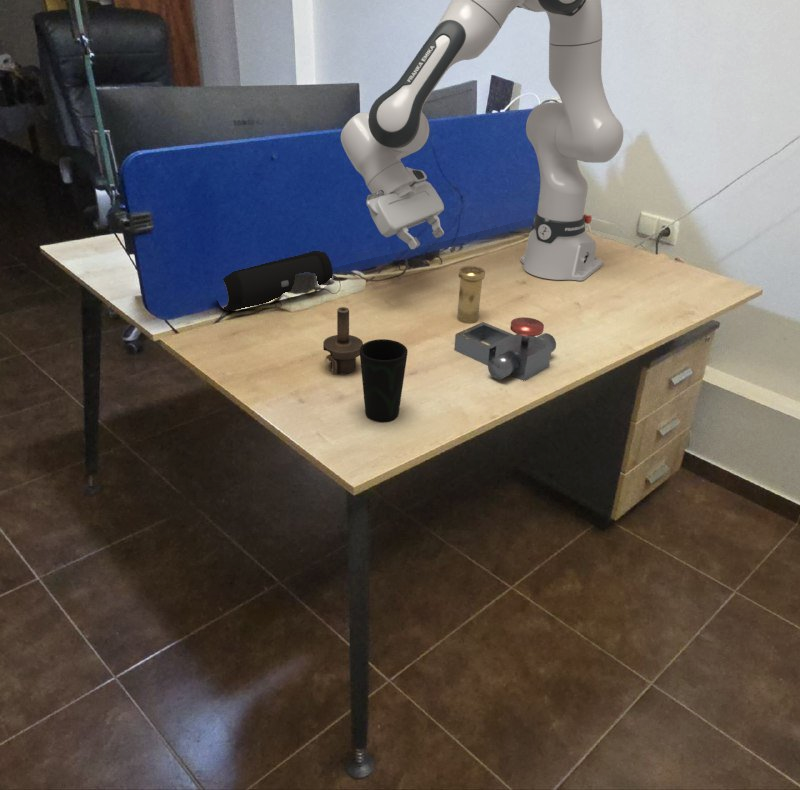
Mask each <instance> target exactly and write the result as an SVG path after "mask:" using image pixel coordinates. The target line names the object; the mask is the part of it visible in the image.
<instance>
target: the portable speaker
mask: <svg viewBox="0 0 800 790" xmlns="http://www.w3.org/2000/svg"><path fill="white" fill-rule="evenodd" d="M304 272H310V273H315V274H316V276H317V281H318V284H319V285H321V284H324V283H326V282H327V281H328V280H329V279H330V278H332V279H333V275H334V272H333V265H332V261H331V260H330V257H329V255H327V253H326V251H324V252H320V251H312V252H309V253H305V254H302V255H298V256H294V257H289V258H285V259H281V260H278V261H273V262H269V263H265V264H261V265H258V266H254V267H250V268H247V269H242V270H238V271H234V272H232V273H231V274H229V275H228V276H226V277H225V278H224V279H223V281H224V283H225V286H226V289H227V293H228V305H227V306H226V307H224V310H223V311H229V310H236V309H241V308H245V307H250V306H254V305H259V304H263V303H266V302H269V301H271V300H273V299H275V298H278V297H280V296H281V295H282V294H283V293H285V292H289V291H291V289H292V286H293V284H294V280H295V275H296V274H299V273H304Z"/></svg>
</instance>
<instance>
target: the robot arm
mask: <svg viewBox="0 0 800 790" xmlns="http://www.w3.org/2000/svg"><path fill="white" fill-rule="evenodd" d="M516 8H517V9H519V8H520V9H524V10H527V11H529V12H530V11H531V12H535V13H540V12H541V13H543V12H545V14H546V15H547V18H548V22H549V30H548V31H549V34H548V38H549V39H548V80H549V84H551V86H552V88H553V89H554V91H556V93H557V94H558V96H559V98H560V100H561V102H555V101H554V102H545V103H540V104H538V105H536V106H535V107H534V108H532V110H531V111H530V113H529V114H528V117H527V119H526V120H527V121H526V125H525V133H526V137H527V139H528V141H529V142H530V143H531V145H532V147H533V148H534V151H535V154H536V158H537V163H538V169H539V176H540V178H539V179H540V182H539V183H540V186H539V195H538V205H537V211H536V212H535V215H534V218H533V229H532V230H530V232H529V235H528V239H527V243H526V248H525V252H524V255H522V256H521V257H520V262H521V263H522V264H523V266H522V268H523V270H524V271H525V272H527V273H528V274H530V275H532V276H534V277H538V278H541V279H542V278H543V279H546V280H547V279H548V280H554V281H555V280H557V281H561V280H562V281H565V280H567V281H568V280H569V281H585V280H586V279H587V278H589V277H590V276H592V275H593V274H594V273H595V272H596V271H598V270H599V269H600V268H601V267H602V266H603V265H604V264H603V263H604V261H603V260H601V259H600V258H598V257H597V256H596V250H597V249H596V248H597V243H596V242H595V240H594V239H593V238H592V237H591V236H590V235H589V233H587V231H586V224H588V225H590V224H591V222H592V219H593V217H592V215H587V214H584V213H585V207H586V202H587V196H588V188H589V187H588V182H587V180H586V177H584V175H583V174H582V172H581V170H580V167H579V162H578V161H580V162H583V163H588V164H589V163H592V164H593V163H594V164H596V163H597V164H598V163H599V164H600V163H601V164H603V163H607V162H609V161H611V160H612V159H613V158H614V157H615V156H616V155H617V154H618V152H619V151H620V150H621V147H622V146H623V145H622V144H623V142H624V129H623V125H622V122H620V120H619V119H618V118H617V117H616V115H615V114H614V113H613V111H612V109H611V107H610V103H609V102H608V100H607V96H606V92H605V89H604V85H603V84H604V83H603V78H602V77H603V76H602V50H603V49H602V48H603V11H602V10H603V8H602V1H601V0H450V2H449V4H448V6H447V8H446V10H445V11H444V13H443V15H442V16H441V18H440V19H439V22H438V23H437V25H436V26H435V28H434V30H433V31H432V32H431V34H430V35H429V37H428V39H426V41H425V42H424V44H423V45H422V46H421V48H420V50H419V51H418V53H417V54H415V56H414V58H413V59H412V61H411V62H410V64H409V65H408V66H407V68H406V70H405V71H404V73H403V74H402V75H401V77H400V78H399V79H398V81H397V82H396V83H395V84H394V85H392V87H390V88H389V89H388V90H387V91H385V92H383V93H382V94H381V95H380V96H379V97H378V98H376V99H375V100H374V102H373V104H372V105H371V107H370V110H369V112H363V111H362V112H358V113H356V114H355V115H352V116H351V117H350V118H349V119H348V121H347V122H346V123H345V124H344V125H343V128H342V130H341V133H340V141H341V145H342V147H343V149H344V152H345V154H346V156H347V157H348V159H349V161H350V163H351V165H352V166H353V167H354V168H355V170H356V172H357V173H359V174H360V175H361V176H362V178H363V180H364V182H365V185H366V187H367V189H368V190H369V192H370V193H371V194H368V195H367V198H366V202H365V203H366V206H367V207H368V209H369V214H370V216H371V218H372V220H373V222H374V224H375V226H376V228H377V230H378V231H379V234H381V235H382V236H383V237H385V238H389V237H392V236H394V235H396V236H397V237H398V239H399V240H401V241H402V242H404V243H406V244H407V245H408V247H409V248H410V250H415V249H416V248H418V247H419V246H420V245H421V242H420V241H419V239H418V238H417V237H416V236H415V237H414V236H413V235H411V233H409V229H411V228H413V227H416V226H417V225H421V224H423V223H425V222H427V223H428V225H431V228H432V232H431V233H432V235H433V237H434V238H435V239H439V238H441V237H442V236H443V235H444V234H445V231H444V230H443V228H442V227H441V220H440V218H439V215H440V214H441V213H442V212H443V211H444V210H445V205H444V202H443V200H442V198H441V197H440V195H439V194H438V192H437V190H436V189H435V187H433V185H432V183H431V182H430V181H427V179H428V176H427V174H426V173H425V171H424V170H421V169H415V168H410V167H408V166H406V167H405V166H404V164H403V162H402V161H401V160H403V159H405V158H406V157H408V156H411V155H412V154H414V153H416V152H418V151H420V150H421V149H422V148H423V147H424V146H425V145H426V144H427V142H428V140H429V137H430V134H431V133H430V131H431V128H430V122H429V120H428V118H427V116H426V115H425V114H424V113H423V107H424V105H425V103H426V102H427V100H428V98H429V97H430V96H431V94H432V93H433V92H434V90H435V88H436V87H437V86H438V84H439V83H440V81H441V80H442V78H443V77H444V75H445V74H446V73H447V72H448V70H449V69H451V67H452V66H453V65H455V64H457V63H459V62H461V61H469V60H473V59H476V58H478V57H479V56H481V54H483V53H484V51H485V50H486V49H487V48H488V47H489V46H490V44H491V43H492V42H493V41H494V39H495V38H496V36H497V35H498V33H499V31H500V30H501V29H502V27H503V25H504V24H505V22H506V20H507V19H508V17H509V15H510V14H511V13H512V12H513V11H514V9H516Z"/></svg>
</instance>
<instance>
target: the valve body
mask: <svg viewBox="0 0 800 790" xmlns="http://www.w3.org/2000/svg"><path fill="white" fill-rule="evenodd" d="M544 327H545V325H544V323H543V322H542V321H541V320H538V319H536V318H531V317H524V316H523V317H515V318H514V319H512V320H511V322H510V327H509V328H510V331H512V333H511V332H509V331H507V330H504V329H501V328H499V327H498V326H497V327H496V326H494V325H492V324H489V323H487V322H484V321H482V322H479V323H478V324H474V325H472V326H471V327H469V328H466V329H463V330H461V331H460V332H457V333H455V335H454V337H455V338H454V347H453V348H454V351H455V352H457V353H460V354H462V355H465V356H466V357H469V358H470V359H473V360H475V361H478V362H479V363H482V364H484V365H486V366H487V369H488V372H489V374H490V376H491V377H492V378H493V379H495V380H503V379H504V378H506V377H509V376H512V377H514V378H516V379H518V380H520V381H522V380H523V381H522V382H524V380H525V381H526V379H527V380H529V379H531V378H532V377H534V376H536V375H537V374H539V373H541V372H543V371H544V370H546V369H548V368H549V367H550V363H551V356H552V355H551V354H552V353H554V352H555V350H556V347H557V342H556V339H555V337H554V336H553V335H552V334H551V333H547V332H544V329H545V328H544ZM513 333H514V334H513ZM482 341H483V342H484V343H483V342H482ZM485 343H487V344H485ZM488 344H489V345H488ZM535 374H536V375H535Z"/></svg>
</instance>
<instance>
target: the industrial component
mask: <svg viewBox="0 0 800 790" xmlns="http://www.w3.org/2000/svg"><path fill="white" fill-rule="evenodd" d="M336 310H337V311H336V312H337V315H336V317H337V318H336V319H337V320H336V321H337V326H336V327H337V328H336V329H337V330H336V331H337V332H336V334H335V335H331V336H328V337H326V338H325V339H324V340H323V345H322V346H323V351H325V352H328V353H329V354H327V355H326V356H325V357H326V359H327V360H328V361H329V362H330V370H331V372H332V373H331V374H332V375H340V374H341V375H342V374H343V375H345V374H350V373H352V372H353V373H354V371H355V370H356V368H357V358H358V357H360V347H361V346H362V345H363V344H364V342H363V341H362V339H361V338H359V337H357V336H354V335H353V334H352V335H350V308H349V307H345V306H342V307H338V308H337V309H336Z"/></svg>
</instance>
